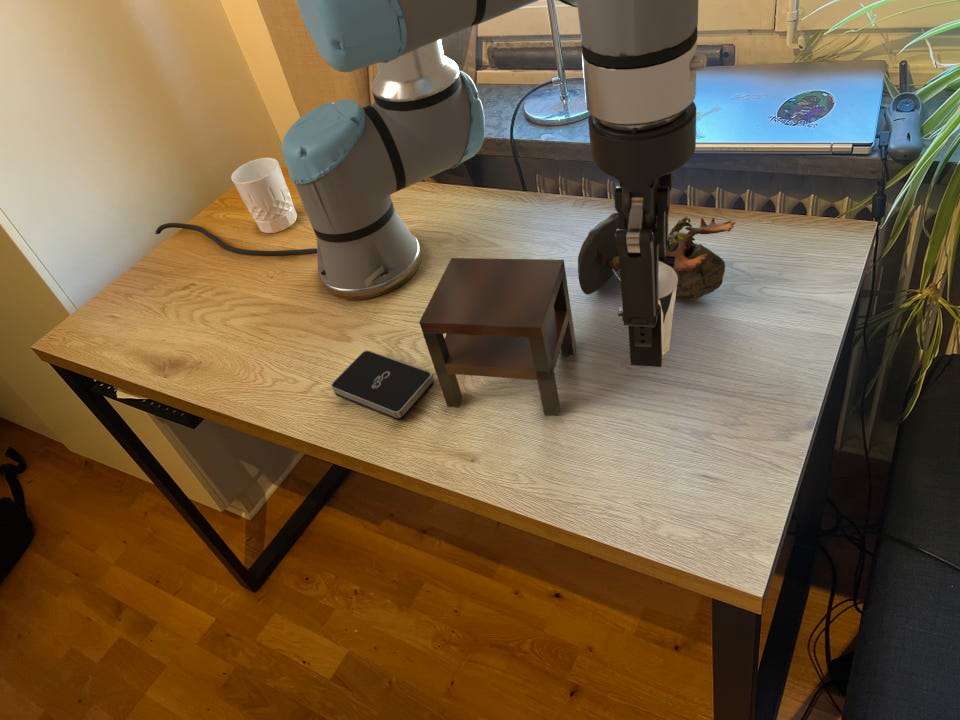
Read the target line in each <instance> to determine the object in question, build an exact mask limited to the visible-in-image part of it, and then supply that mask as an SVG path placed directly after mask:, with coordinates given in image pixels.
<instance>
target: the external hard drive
mask: <svg viewBox="0 0 960 720" xmlns="http://www.w3.org/2000/svg"><path fill="white" fill-rule="evenodd" d="M434 385H435V380H434V377H433V375H432V372H431V371H430V370H426V369H423V368H421V367H418V366H415V365H412V364H410V363H409V364H408V363H406V362H403V361H400V360H397V359H394V358H391V357H389V356H386V355H383V354H380V353H377V352H374V351H373V350H367V349H366V350H364V351H362V352H361V353H360V354H359V355H358V356H357V357H356V358H355V359H354V360H353V361H352V362H351V363H350V364H349V365H348V366H347V367H346V368H345V369H344V370H343V371H342V372H341V373H340V374H339V376H337V377H336V378H335V380H334V381H333V382H332V383H331V385H330V386H331V389H332V391H333V393H334V395H335V396H336V397H338V398H341V399H344V400H346V401H349V402H351V403H354V404H356V405H359V406H361V407H363V408H366V409H369V410H371V411H373V412H376V413H379V414H381V415H383V416H385V417H389V418H391V419H393V420H394V421H395V420H396V421H399V422H401V421H404V420H405V419H406V417H408V415H409V414H410V413H412V410H414V408H415V407H416V406H417V405H418V404H419V403H420V402H421V400H423V398H424V397H425V396H426V394H427V393H428V392H429V391H430V390H431V389H432V388H433V386H434Z"/></svg>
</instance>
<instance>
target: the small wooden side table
mask: <svg viewBox="0 0 960 720" xmlns="http://www.w3.org/2000/svg"><path fill="white" fill-rule="evenodd" d="M566 273H567V272H566V266H565V260H564V259H563V258H561V259H560V258H488V257H487V258H485V257H484V258H482V257H480V258H479V257H451V258H450V260H449V261H448V264H447V266H446V268H445V270H444V272H443V274H442V276H441V278H440V280H439V281H438V284H437V286H436V288H435V289H434V292H433V293H432V295H431V298H430V299H429V302H428V304H427V305H426V308H425V310H424V312H423V314H422V315H421V318H420V320H419V322H418V323H419V326H420V329H421V332H422V335H423V338H424V341H425V344H426V347H427V350H428V354H429V356H430V358H431V362H432V365H433V367H434V370H435V371H434V372H435V374H436V377H437V379H438V382H439V386H440V389H441V392H442V395H443V397H444V401H445V403H446V406H447V407H452V408H460V406H461V403H462V401H463V400H464V399H463V398H464V397H463V394H462V390H461V387H460V385H459V381H458V378H457V375H459V376H460V375H461V376H475V377H487V378H489V377H490V378H500V379H501V378H502V379H504V378H505V379H515V380H516V379H517V380H531V381H537V387H538V392H539V396H540V400H541V407H542V411H543V415H544V416H555V417H557V416H558V414H559V411H560V407H561V404H560V399H559V394H558V393H559V392H558V386H557V382H556V376H555V368H556V365H557V361H558V358H559V355H560V352H561V355H562V356H575V352H576V349H577V343H576V337H575V329H574V321H573V316H572V315H573V314H572V307H571V300H570V294H569V293H570V292H569V287H568V279H567V274H566ZM444 335H445V336H444Z"/></svg>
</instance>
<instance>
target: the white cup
mask: <svg viewBox="0 0 960 720" xmlns="http://www.w3.org/2000/svg"><path fill="white" fill-rule="evenodd" d="M230 180H231V181H232V183H233V185H234V187H235V189H236V191H237V193H238V194H239V196H240V198H241V200H242V202H243V204H244V206H245V207H246V209H247V210H248V212H249V214H250V215H251V217H252V218H253V220H254V221H255V223H256V225H257V227H258V229H259V231H260V232H262V233H265V234H275V233H279V232H282V231H285V230H286V229H288V228H290V227H292V226H293V224H295V223H296V221H297V218H298V214H297V211H296V208H295V206H294V203H293V197H292V196H291V192H290V189H289V187H288V185H287V183H286V178H285V176H284V174H283V171H282V169H281V166H280V163H279V161H278V159H276V158H273V157H261V158H256V159H253V160H250V161H248V162H245V163H244V164H241V165H240V166H239V167H237V168H236V169H235V170H234V171H233V172H232V173H231V176H230Z"/></svg>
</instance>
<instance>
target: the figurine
mask: <svg viewBox="0 0 960 720" xmlns="http://www.w3.org/2000/svg"><path fill="white" fill-rule="evenodd" d="M735 224H736V221H732V220H728V221H725V222H721V223H716V221H715V217H712V218H711V221H710V223H708V224H707V223H706V221H705V219H704V218H703V217H701V218H700V224H699V227H693V226H692V224H691V218H690V217H688V216H685V217H683V218H682V219H679V220H677V222H676V224H675V225H674V226H673V227H672V228H671V230H670V231H669V232H668V239H669V240H670V245H669V247H668V250H666V255H667V256H675V267H674V268H673V270H674V271H675V272H676V274H677V277H678V283H677V291H676V298H675V301H677V302H678V301H679V302H680V301H681V302H684V301H693V300H699V299H701V298H702V297H703V296H706V295H708V294H711V293H713V292H714V291H716V290H718V289H719V288H720V287H721V286H722V284H723V281H724V279H723V278H724V275H725V271H726V262H725V260H724V259H723V258H721V257H720V256H719V255H718V254H716V253H715V252H713V250H711V249H709V248H707V247H706V246H703V244H701V243H699V244H698V243H695V242H694V241H696V238H694V237H695V236H696V235H711V234H719V233H724V232H725V233H726V232H731V231H732V229H734V228H735ZM684 227H685V228H684ZM683 228H684V230H687V231H688V232H687V233H686V232H683V231H681V230H683ZM617 229H619V218H618V212H613V213H611V214H610V215H609V216H608V217H607V218H605V219H604V220H601V221H600V222H599V223H597V224H596V225H595V226H594V227H593V228H592V229H590V230H589V231H588V234H587V236H586V237H585V239H584V241H583V242H582V244H581V246H580V250H579V253H578V256H577V275H578V277H577V278H578V283H579V287H580V289H581V291H582V293H583V294H585V295H591V294H593V293H596V292H598V291H599V290H601V288H603V287H604V285H606V283H608V281H610V280H611V278H612V277H613V276H614V275H616V274H615V273H614V271H615V272H616V273H617V272H618V271H620V269H619V256H618V251H617V247H616V241H615V234H616V231H617ZM680 231H681V232H680ZM613 269H614V271H613Z"/></svg>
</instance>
